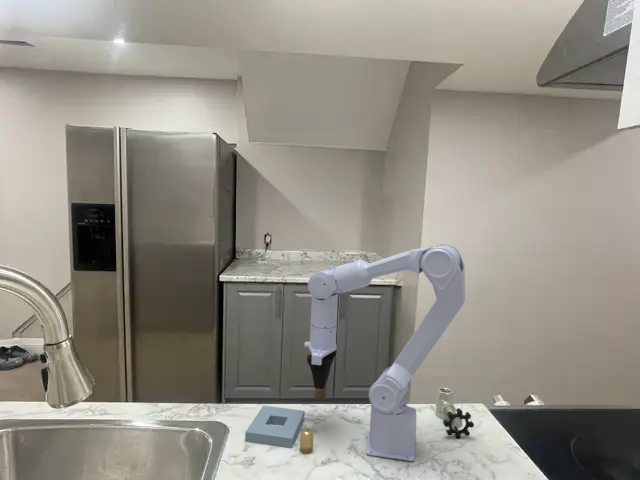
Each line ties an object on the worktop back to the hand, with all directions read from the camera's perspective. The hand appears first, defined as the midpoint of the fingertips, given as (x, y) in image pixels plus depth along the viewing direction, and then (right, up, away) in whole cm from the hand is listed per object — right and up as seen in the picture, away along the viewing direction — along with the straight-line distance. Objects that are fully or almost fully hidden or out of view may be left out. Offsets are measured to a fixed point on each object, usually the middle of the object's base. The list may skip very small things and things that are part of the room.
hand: (320, 385), depth 91 cm
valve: (+30, -11, +5) cm, 32 cm away
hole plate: (-10, -10, -1) cm, 14 cm away
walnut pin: (0, -3, 0) cm, 3 cm away
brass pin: (-3, -11, -8) cm, 13 cm away
